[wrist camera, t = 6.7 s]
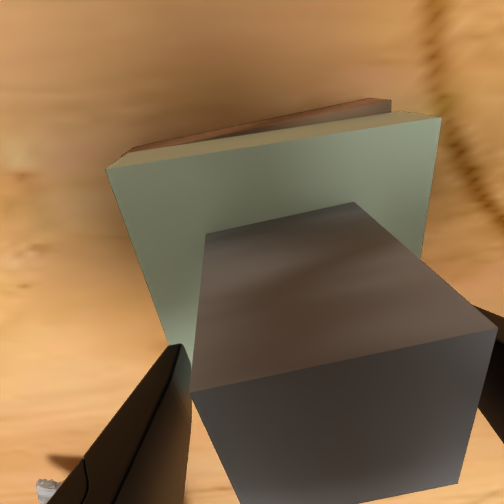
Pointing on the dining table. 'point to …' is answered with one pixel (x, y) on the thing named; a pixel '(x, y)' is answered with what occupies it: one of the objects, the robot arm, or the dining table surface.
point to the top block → (267, 193)
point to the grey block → (333, 361)
